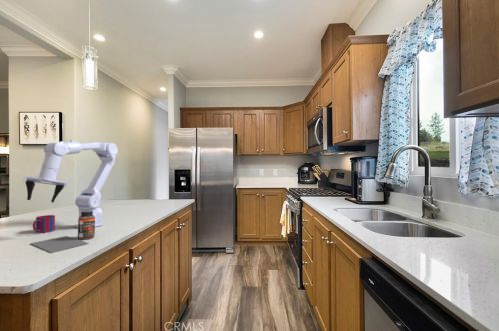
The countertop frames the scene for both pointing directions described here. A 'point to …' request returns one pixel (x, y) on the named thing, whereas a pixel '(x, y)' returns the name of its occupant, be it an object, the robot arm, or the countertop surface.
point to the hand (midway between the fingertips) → (40, 201)
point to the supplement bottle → (86, 225)
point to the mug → (44, 224)
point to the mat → (58, 244)
